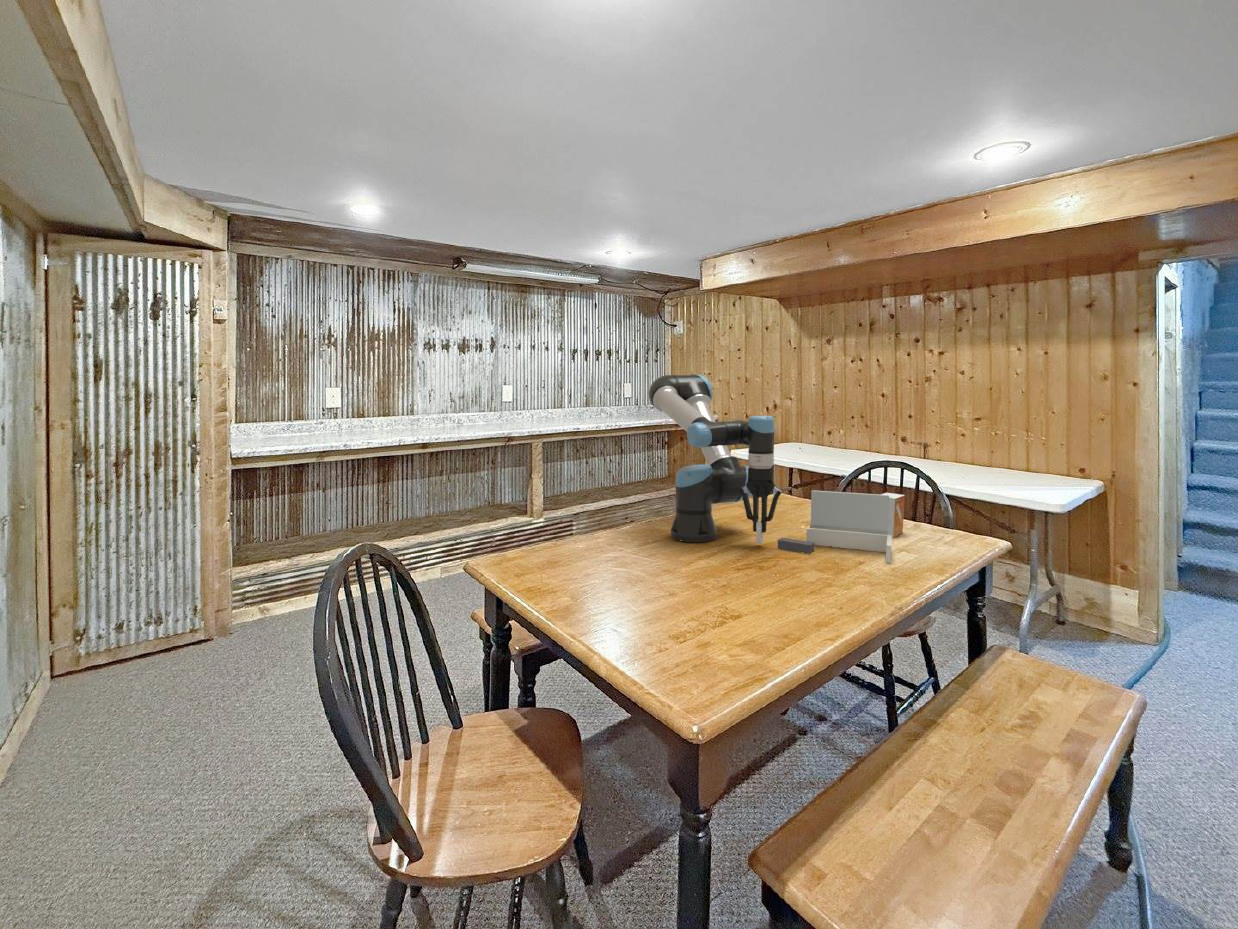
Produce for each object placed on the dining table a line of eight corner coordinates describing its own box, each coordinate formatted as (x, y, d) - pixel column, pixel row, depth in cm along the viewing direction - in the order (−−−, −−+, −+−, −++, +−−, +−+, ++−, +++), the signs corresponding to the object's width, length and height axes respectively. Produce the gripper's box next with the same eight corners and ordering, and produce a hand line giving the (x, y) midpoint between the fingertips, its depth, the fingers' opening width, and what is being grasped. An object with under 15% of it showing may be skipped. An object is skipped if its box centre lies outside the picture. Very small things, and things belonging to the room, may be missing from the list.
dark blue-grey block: (777, 549, 179) (777, 540, 178) (782, 546, 181) (782, 537, 181) (810, 555, 173) (810, 545, 172) (814, 552, 175) (814, 542, 175)
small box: (893, 538, 188) (895, 498, 186) (873, 534, 192) (875, 495, 190) (903, 533, 193) (905, 494, 191) (883, 530, 198) (885, 492, 196)
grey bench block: (800, 553, 173) (801, 537, 172) (807, 541, 186) (808, 525, 185) (890, 563, 163) (891, 545, 162) (891, 549, 176) (891, 533, 175)
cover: (810, 491, 178) (811, 490, 179) (809, 528, 181) (810, 527, 182) (890, 496, 169) (890, 495, 170) (888, 535, 172) (888, 534, 173)
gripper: (736, 467, 177) (735, 543, 181) (780, 469, 172) (778, 547, 175) (742, 464, 184) (741, 537, 187) (784, 466, 178) (783, 541, 182)
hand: (759, 542), depth 181 cm, fingers closed
